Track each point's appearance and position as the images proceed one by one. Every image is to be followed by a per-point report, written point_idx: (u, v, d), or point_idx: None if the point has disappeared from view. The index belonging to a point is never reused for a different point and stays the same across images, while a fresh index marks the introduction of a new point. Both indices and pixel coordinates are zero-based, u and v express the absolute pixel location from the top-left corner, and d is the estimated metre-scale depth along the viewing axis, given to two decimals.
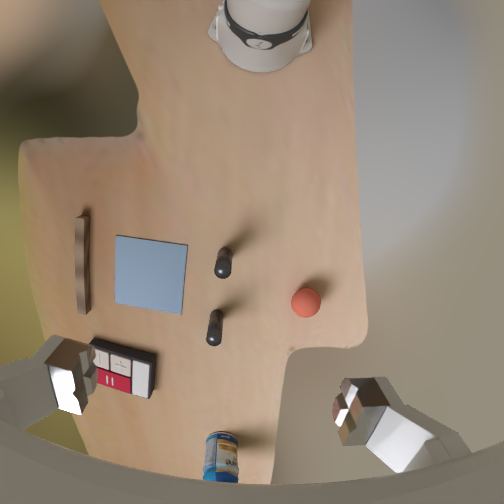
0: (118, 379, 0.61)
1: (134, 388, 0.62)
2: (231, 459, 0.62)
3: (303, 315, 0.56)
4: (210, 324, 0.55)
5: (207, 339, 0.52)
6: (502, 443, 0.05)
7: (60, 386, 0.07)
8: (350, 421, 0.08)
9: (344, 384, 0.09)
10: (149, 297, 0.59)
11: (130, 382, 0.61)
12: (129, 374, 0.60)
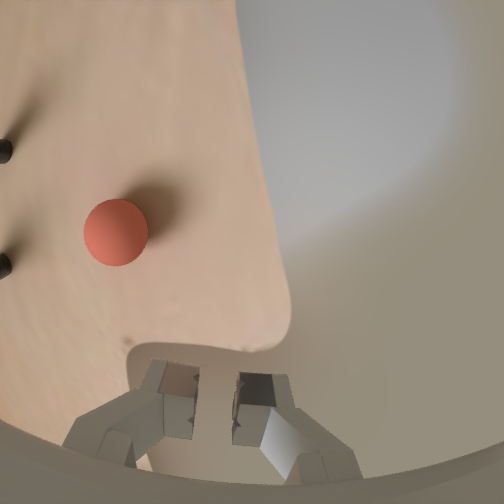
0: None
1: None
2: None
3: (99, 258, 0.23)
4: None
5: None
6: (502, 443, 0.05)
7: (174, 414, 0.07)
8: None
9: (237, 378, 0.09)
10: None
11: None
12: None
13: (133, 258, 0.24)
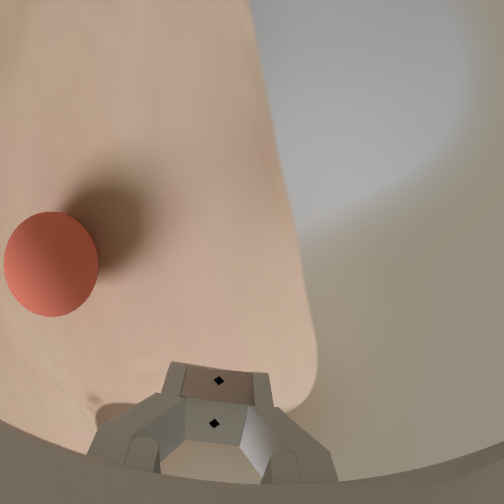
0: None
1: None
2: None
3: (25, 307, 0.12)
4: None
5: None
6: (502, 443, 0.05)
7: (195, 417, 0.07)
8: None
9: None
10: None
11: None
12: None
13: (75, 306, 0.14)
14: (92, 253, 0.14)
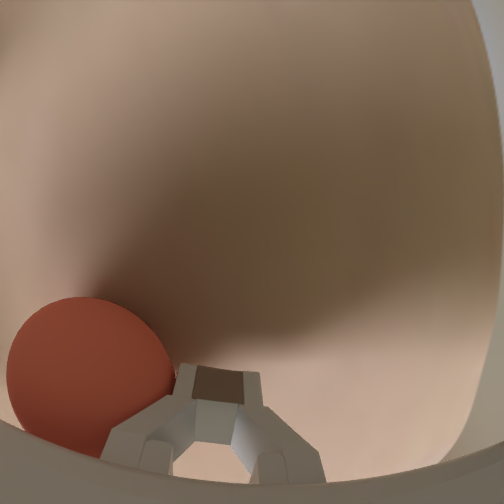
0: None
1: None
2: None
3: None
4: None
5: None
6: (502, 443, 0.05)
7: (206, 419, 0.07)
8: None
9: None
10: None
11: None
12: None
13: None
14: None
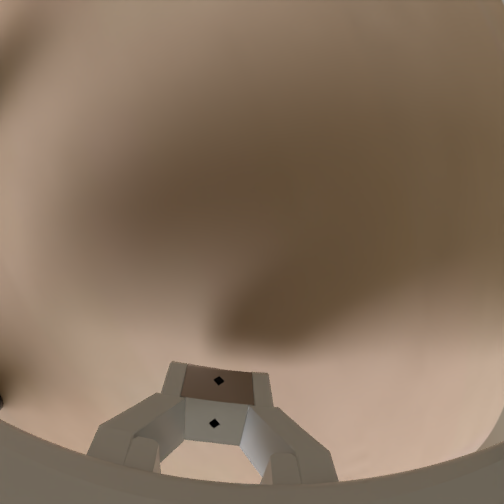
0: None
1: None
2: None
3: None
4: None
5: None
6: (502, 443, 0.05)
7: (195, 417, 0.07)
8: None
9: None
10: None
11: None
12: None
13: None
14: None
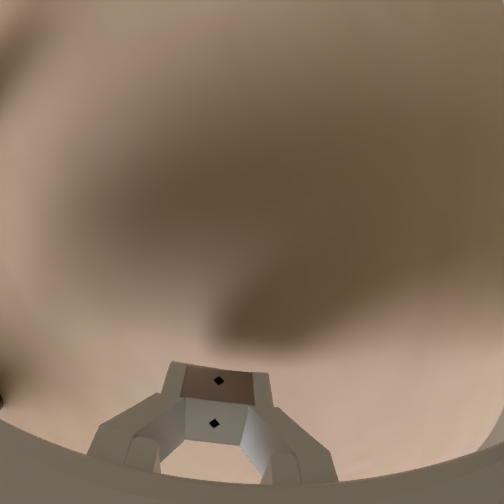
0: None
1: None
2: None
3: None
4: None
5: None
6: (502, 443, 0.05)
7: (195, 418, 0.07)
8: None
9: None
10: None
11: None
12: None
13: None
14: None
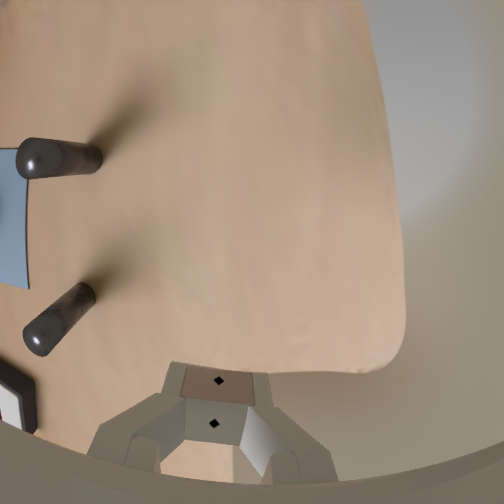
0: None
1: (5, 421, 0.27)
2: None
3: None
4: (47, 308, 0.21)
5: (25, 339, 0.18)
6: (502, 443, 0.05)
7: (195, 417, 0.07)
8: None
9: None
10: None
11: None
12: None
13: None
14: None
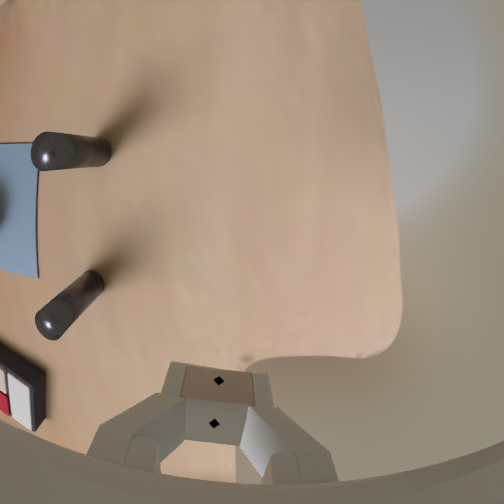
0: None
1: (14, 411, 0.29)
2: None
3: None
4: (58, 294, 0.23)
5: (37, 323, 0.19)
6: (502, 443, 0.05)
7: (195, 417, 0.07)
8: None
9: None
10: None
11: (7, 401, 0.29)
12: (4, 390, 0.28)
13: None
14: None
